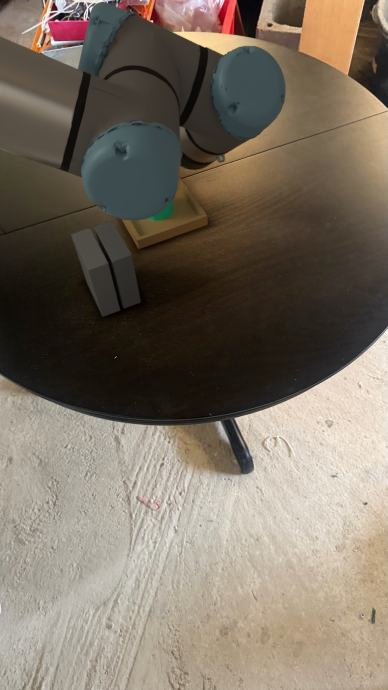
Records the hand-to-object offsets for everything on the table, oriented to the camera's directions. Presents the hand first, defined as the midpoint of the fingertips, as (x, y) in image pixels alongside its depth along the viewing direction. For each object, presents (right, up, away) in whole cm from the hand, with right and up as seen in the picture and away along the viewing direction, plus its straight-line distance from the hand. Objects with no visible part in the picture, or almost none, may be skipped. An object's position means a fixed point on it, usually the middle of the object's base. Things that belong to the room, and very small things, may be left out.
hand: (157, 169), depth 78 cm
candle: (-1, -4, +10) cm, 11 cm away
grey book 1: (-9, -21, -1) cm, 23 cm away
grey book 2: (-6, -20, 0) cm, 20 cm away
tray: (-4, +1, +13) cm, 14 cm away
